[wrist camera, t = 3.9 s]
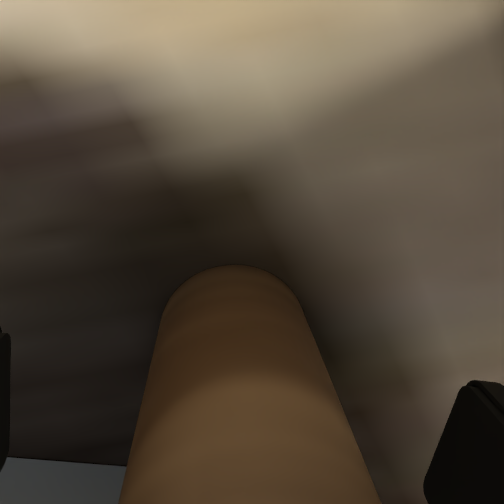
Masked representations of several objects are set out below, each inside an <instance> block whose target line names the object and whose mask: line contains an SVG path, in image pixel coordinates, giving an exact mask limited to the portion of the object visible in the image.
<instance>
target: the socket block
mask: <svg viewBox="0 0 504 504" xmlns="http://www.w3.org/2000/svg"><path fill="white" fill-rule="evenodd" d="M126 468H127V467H125V466H112V465H99V464H87V463H74V462H61V461H49V460H36V459H23V458H11V457H7V459H6V461H5V464H4V466H3V468H2V470H1V472H0V504H118V502H119V498H120V493H121V489H122V485H123V480H124V476H125V472H126Z"/></svg>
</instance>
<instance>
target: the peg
mask: <svg viewBox="0 0 504 504" xmlns="http://www.w3.org/2000/svg"><path fill="white" fill-rule="evenodd" d="M118 504H381V501H380V499H379V496H378V494H377V491H376V489H375V487H374V484H373V482H372V479H371V477H370V474H369V472H368V469H367V467H366V465H365V462H364V460H363V457H362V455H361V452H360V450H359V447H358V445H357V442H356V440H355V438H354V435H353V433H352V430H351V428H350V425H349V423H348V420H347V418H346V416H345V413H344V411H343V408H342V406H341V403H340V401H339V398H338V396H337V393H336V391H335V389H334V386H333V384H332V381H331V379H330V376H329V374H328V371H327V369H326V367H325V364H324V362H323V359H322V357H321V354H320V352H319V349H318V347H317V344H316V342H315V340H314V337H313V335H312V332H311V330H310V327H309V325H308V322H307V320H306V318H305V315H304V313H303V310H302V308H301V305H300V303H299V301H298V299H297V297H296V296H295V294H294V293H293V291H292V290H291V289H290V288H289V287H288V286H287V285H286V284H285V283H284V282H283V281H282V280H280V279H279V278H277V277H276V276H274V275H273V274H271V273H269V272H267V271H265V270H262V269H259V268H256V267H251V266H247V265H223V266H217V267H213V268H210V269H207V270H204V271H202V272H200V273H197V274H196V275H194V276H192V277H191V278H189V279H188V280H186V281H185V282H184V283H183V284H181V285H180V286H179V287H178V288H177V290H176V291H175V292H174V293H173V294H172V296H171V297H170V298H169V300H168V302H167V304H166V306H165V308H164V311H163V314H162V317H161V322H160V326H159V330H158V335H157V339H156V343H155V347H154V352H153V356H152V360H151V365H150V369H149V373H148V377H147V382H146V386H145V390H144V395H143V399H142V403H141V407H140V412H139V416H138V420H137V425H136V429H135V433H134V437H133V442H132V446H131V450H130V455H129V459H128V463H127V468H126V472H125V476H124V480H123V485H122V489H121V493H120V498H119V502H118Z"/></svg>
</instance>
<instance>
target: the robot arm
mask: <svg viewBox="0 0 504 504" xmlns="http://www.w3.org/2000/svg"><path fill="white" fill-rule="evenodd" d="M10 357H11V339H10V335H9V334H8V333H2V330H1V327H0V472H1V470H2V468H3V466H4V464H5V461H6V459H7V455H8V451H9V431H10ZM423 488H424V495H425V498H426V500H427V502H428V504H504V386H503V385H502V384H500V383H496V382H487V381H478V380H472V381H470V382H469V383H468V384H467V385H466V386H463V387H462V388H461V389H460V391H459V392H458V395H457V398H456V400H455V403H454V405H453V408H452V410H451V413H450V415H449V418H448V420H447V423H446V425H445V428H444V431H443V433H442V436H441V438H440V441H439V443H438V446H437V448H436V451H435V453H434V456H433V458H432V461H431V464H430V466H429V469H428V471H427V474H426V476H425V479H424V484H423Z"/></svg>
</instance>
